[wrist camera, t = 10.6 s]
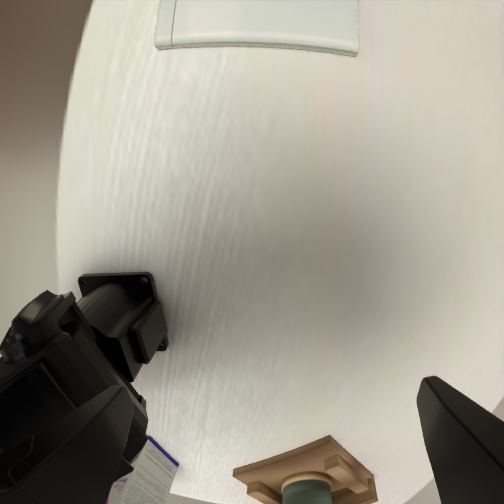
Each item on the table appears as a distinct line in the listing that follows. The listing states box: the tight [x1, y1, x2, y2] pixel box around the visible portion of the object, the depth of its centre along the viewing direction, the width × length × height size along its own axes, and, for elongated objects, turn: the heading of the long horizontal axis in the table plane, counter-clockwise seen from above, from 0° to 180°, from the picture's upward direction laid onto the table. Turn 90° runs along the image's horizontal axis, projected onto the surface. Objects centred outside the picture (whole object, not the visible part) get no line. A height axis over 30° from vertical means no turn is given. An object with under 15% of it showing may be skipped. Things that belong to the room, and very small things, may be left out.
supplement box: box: [106, 437, 179, 504], centre depth 24 cm, size 6×6×12 cm
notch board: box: [233, 435, 378, 504], centre depth 27 cm, size 11×12×4 cm
